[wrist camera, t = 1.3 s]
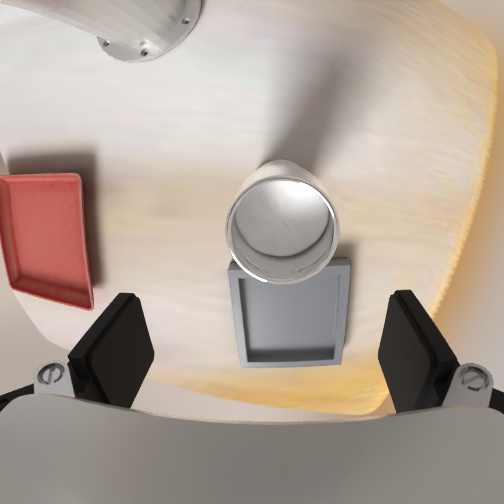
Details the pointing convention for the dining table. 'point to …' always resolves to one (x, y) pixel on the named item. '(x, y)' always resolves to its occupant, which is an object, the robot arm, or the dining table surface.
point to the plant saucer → (46, 237)
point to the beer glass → (282, 224)
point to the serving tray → (290, 318)
